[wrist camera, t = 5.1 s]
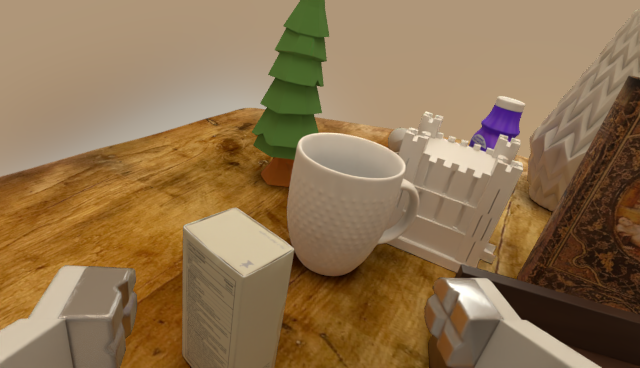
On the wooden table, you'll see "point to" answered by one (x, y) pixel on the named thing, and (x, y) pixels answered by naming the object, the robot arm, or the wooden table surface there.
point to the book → (598, 217)
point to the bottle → (499, 123)
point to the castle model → (454, 195)
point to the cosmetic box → (233, 291)
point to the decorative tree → (293, 90)
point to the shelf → (564, 322)
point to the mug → (344, 201)
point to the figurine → (396, 139)
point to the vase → (580, 116)
